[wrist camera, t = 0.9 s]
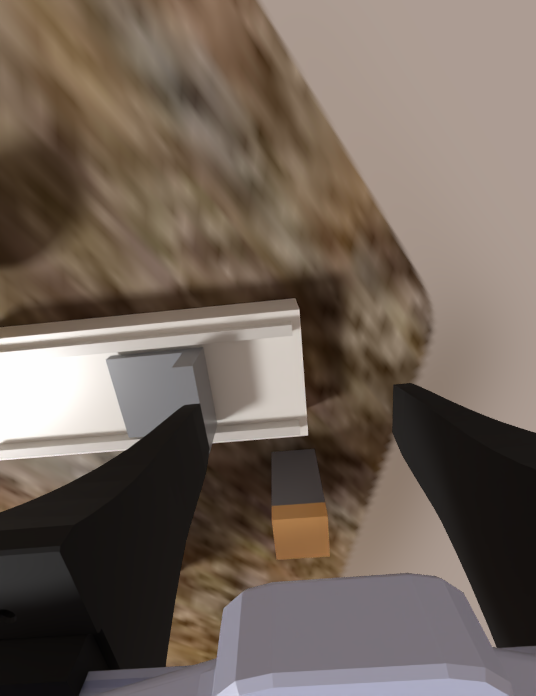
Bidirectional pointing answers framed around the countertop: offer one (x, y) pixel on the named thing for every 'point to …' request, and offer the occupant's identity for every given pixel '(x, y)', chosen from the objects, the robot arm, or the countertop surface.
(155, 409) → the shutter
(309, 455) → the orange and grey block
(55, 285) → the countertop surface
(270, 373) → the socket board
